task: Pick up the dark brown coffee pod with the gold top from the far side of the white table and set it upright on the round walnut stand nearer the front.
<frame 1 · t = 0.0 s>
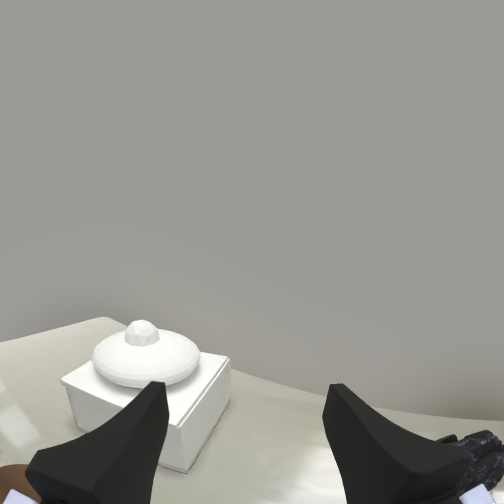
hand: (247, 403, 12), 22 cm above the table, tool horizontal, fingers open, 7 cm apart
crystal cluster: (444, 483, 22), on the table
butter dish: (155, 419, 38), on the table
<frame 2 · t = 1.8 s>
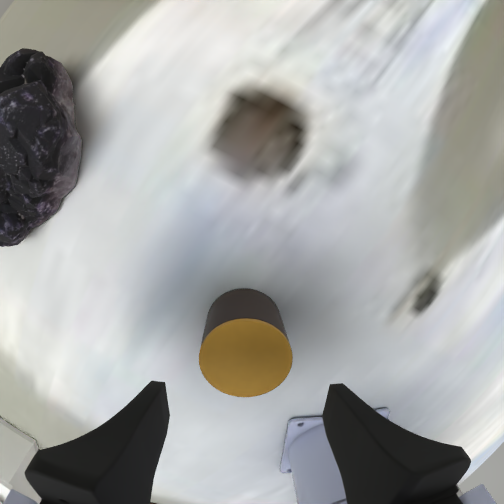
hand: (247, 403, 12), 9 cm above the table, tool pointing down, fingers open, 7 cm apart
crystal cluster: (27, 151, 17), on the table
butter dish: (0, 443, 24), on the table
coffee pod: (243, 322, 20), on the table
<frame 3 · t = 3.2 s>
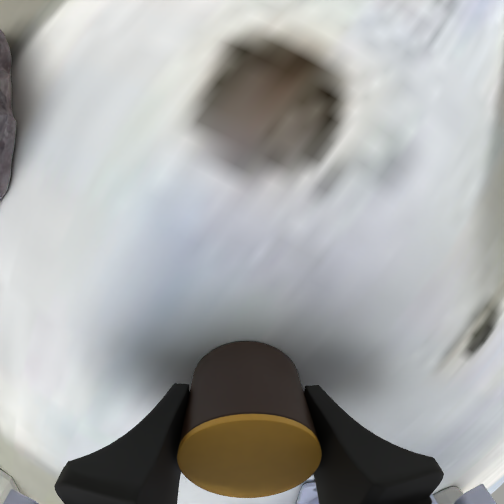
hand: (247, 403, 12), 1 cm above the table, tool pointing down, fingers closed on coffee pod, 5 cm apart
coffee pod: (245, 385, 13), on the table, touching gripper
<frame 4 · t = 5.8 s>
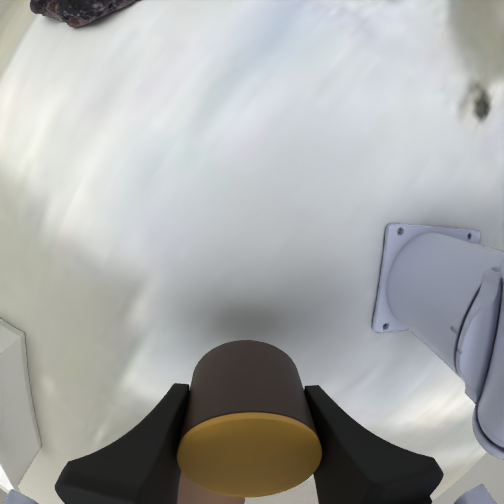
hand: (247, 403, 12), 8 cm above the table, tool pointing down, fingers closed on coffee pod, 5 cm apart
pod stand: (184, 471, 24), on the table
coffee pod: (245, 384, 13), point 7 cm above the table, touching gripper
when the fingers open (5 cm above the table, at t = 8.5 s): coffee pod stays where it is, resting on pod stand.
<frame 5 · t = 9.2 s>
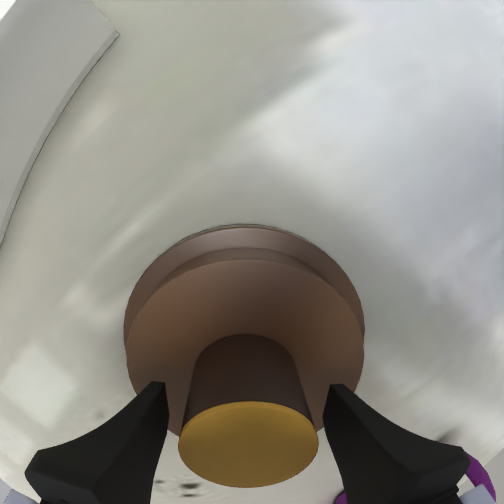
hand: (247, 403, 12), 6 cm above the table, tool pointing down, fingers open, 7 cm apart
pod stand: (244, 343, 17), on the table
coffee pod: (245, 377, 14), point 4 cm above the table, touching pod stand
mug: (394, 474, 22), on the table
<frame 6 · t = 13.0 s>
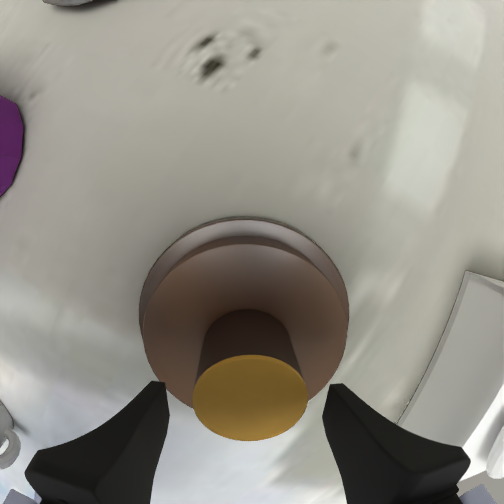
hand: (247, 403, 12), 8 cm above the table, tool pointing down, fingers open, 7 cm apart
cup: (2, 413, 22), on the table
pod stand: (244, 321, 20), on the table
butter dish: (481, 360, 23), on the table
coffee pod: (246, 348, 17), point 4 cm above the table, touching pod stand
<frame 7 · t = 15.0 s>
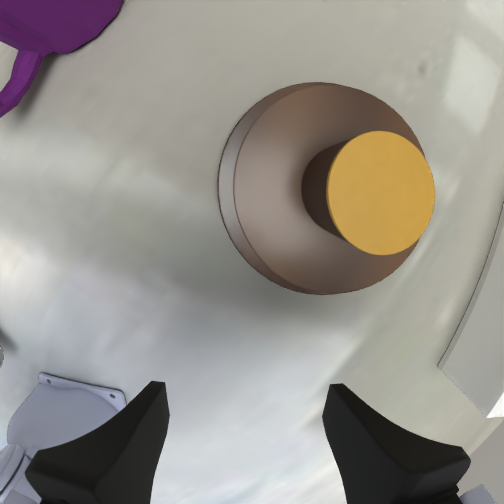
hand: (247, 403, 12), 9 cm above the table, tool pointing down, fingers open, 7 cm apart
pod stand: (326, 187, 19), on the table
coffee pod: (345, 189, 16), point 4 cm above the table, touching pod stand
mug: (60, 44, 16), on the table
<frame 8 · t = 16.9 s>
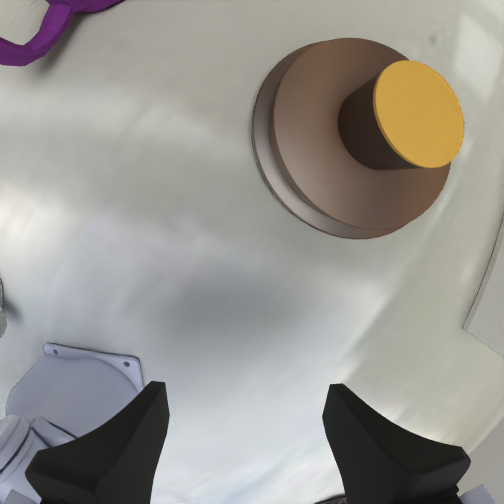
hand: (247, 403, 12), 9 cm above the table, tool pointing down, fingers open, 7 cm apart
pod stand: (354, 135, 19), on the table
coffee pod: (377, 128, 15), point 4 cm above the table, touching pod stand
mug: (89, 5, 15), on the table
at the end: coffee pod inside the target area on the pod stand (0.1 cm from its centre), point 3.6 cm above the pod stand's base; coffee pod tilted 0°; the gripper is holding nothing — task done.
